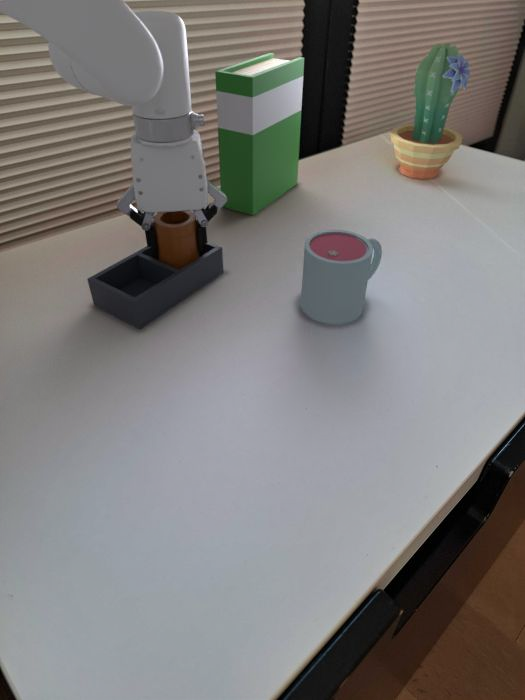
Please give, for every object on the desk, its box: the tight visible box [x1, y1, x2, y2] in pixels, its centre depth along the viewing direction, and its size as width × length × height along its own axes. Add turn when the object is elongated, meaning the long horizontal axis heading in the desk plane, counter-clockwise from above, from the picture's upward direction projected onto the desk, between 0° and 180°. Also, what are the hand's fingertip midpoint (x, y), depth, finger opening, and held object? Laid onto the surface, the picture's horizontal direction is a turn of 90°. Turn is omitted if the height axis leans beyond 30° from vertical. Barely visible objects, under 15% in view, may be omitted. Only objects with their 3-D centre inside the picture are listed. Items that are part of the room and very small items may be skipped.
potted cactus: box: [390, 43, 471, 180], centre depth 107 cm, size 15×15×25 cm
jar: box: [153, 211, 199, 270], centre depth 77 cm, size 6×6×9 cm
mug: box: [300, 229, 383, 325], centre depth 73 cm, size 14×9×10 cm
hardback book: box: [214, 52, 305, 216], centre depth 97 cm, size 18×7×24 cm, turn 148°
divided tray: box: [86, 240, 224, 331], centre depth 77 cm, size 10×18×5 cm, turn 144°
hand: (177, 247), depth 78 cm, fingers closed on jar, 6 cm apart
